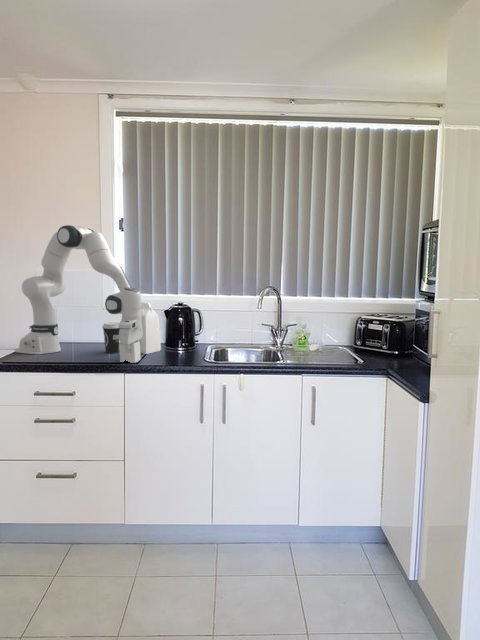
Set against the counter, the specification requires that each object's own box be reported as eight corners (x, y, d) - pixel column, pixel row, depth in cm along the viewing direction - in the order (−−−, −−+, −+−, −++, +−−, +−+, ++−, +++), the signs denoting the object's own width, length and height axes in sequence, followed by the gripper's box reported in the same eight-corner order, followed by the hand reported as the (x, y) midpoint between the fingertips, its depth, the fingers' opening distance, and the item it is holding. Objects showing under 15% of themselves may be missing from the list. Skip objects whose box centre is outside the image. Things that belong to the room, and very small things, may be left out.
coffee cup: (110, 354, 234) (109, 325, 232) (98, 351, 240) (98, 323, 238) (125, 351, 242) (124, 323, 240) (113, 349, 247) (113, 321, 245)
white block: (120, 362, 215) (119, 344, 214) (126, 359, 223) (125, 341, 221) (135, 362, 214) (134, 344, 213) (140, 359, 221) (139, 341, 220)
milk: (160, 350, 246) (160, 302, 243) (146, 353, 236) (145, 303, 233) (144, 347, 252) (143, 301, 249) (129, 351, 242) (128, 302, 239)
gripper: (133, 319, 226) (133, 346, 228) (116, 324, 206) (117, 354, 208) (145, 319, 226) (145, 347, 227) (129, 325, 206) (130, 355, 207)
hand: (132, 351), depth 218 cm, fingers open, 8 cm apart
